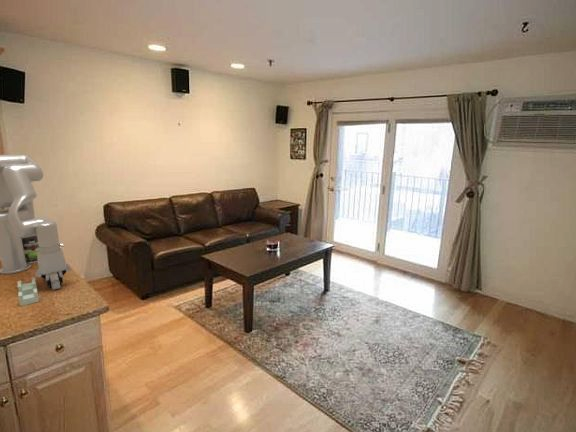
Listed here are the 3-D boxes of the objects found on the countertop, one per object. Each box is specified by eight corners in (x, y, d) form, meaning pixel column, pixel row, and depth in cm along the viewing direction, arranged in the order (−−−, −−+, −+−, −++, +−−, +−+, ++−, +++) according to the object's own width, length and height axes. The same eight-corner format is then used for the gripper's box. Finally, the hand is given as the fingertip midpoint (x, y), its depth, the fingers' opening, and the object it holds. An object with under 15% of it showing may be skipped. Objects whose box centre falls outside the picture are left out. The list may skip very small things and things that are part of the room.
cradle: (19, 290, 147) (17, 281, 146) (36, 286, 151) (34, 277, 150) (20, 306, 134) (18, 296, 133) (39, 301, 138) (37, 291, 137)
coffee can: (47, 260, 182) (43, 235, 178) (23, 265, 174) (19, 240, 171) (42, 255, 188) (38, 231, 185) (20, 260, 181) (15, 235, 177)
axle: (48, 272, 158) (47, 267, 157) (55, 270, 160) (55, 265, 159) (52, 289, 147) (51, 284, 146) (60, 287, 149) (59, 282, 148)
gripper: (70, 242, 154) (75, 278, 158) (25, 249, 143) (32, 287, 148) (72, 247, 148) (77, 283, 153) (27, 254, 138) (33, 294, 143)
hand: (55, 285), depth 151 cm, fingers closed on axle, 3 cm apart
